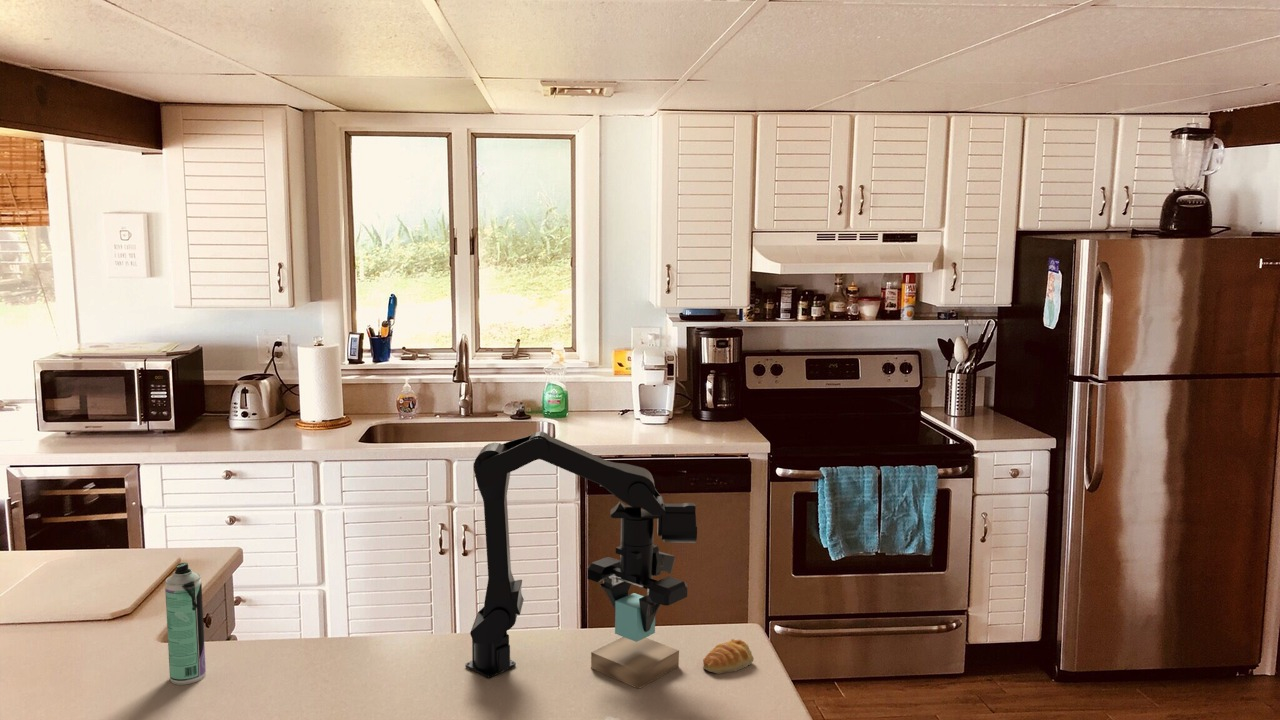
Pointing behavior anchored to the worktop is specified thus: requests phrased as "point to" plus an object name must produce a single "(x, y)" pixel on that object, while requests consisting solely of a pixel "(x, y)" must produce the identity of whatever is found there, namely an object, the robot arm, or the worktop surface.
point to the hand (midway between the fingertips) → (635, 626)
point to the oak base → (635, 660)
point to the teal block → (630, 619)
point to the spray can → (185, 626)
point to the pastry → (728, 657)
